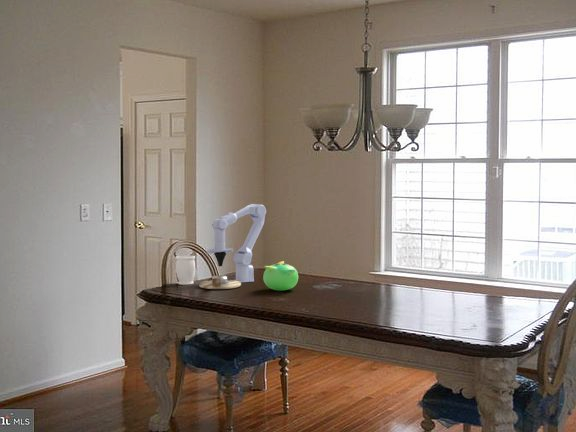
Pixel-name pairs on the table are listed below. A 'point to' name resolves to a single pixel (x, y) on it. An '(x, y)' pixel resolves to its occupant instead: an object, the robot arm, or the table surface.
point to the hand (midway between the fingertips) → (220, 266)
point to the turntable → (219, 284)
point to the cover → (223, 279)
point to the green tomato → (280, 276)
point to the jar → (185, 269)
